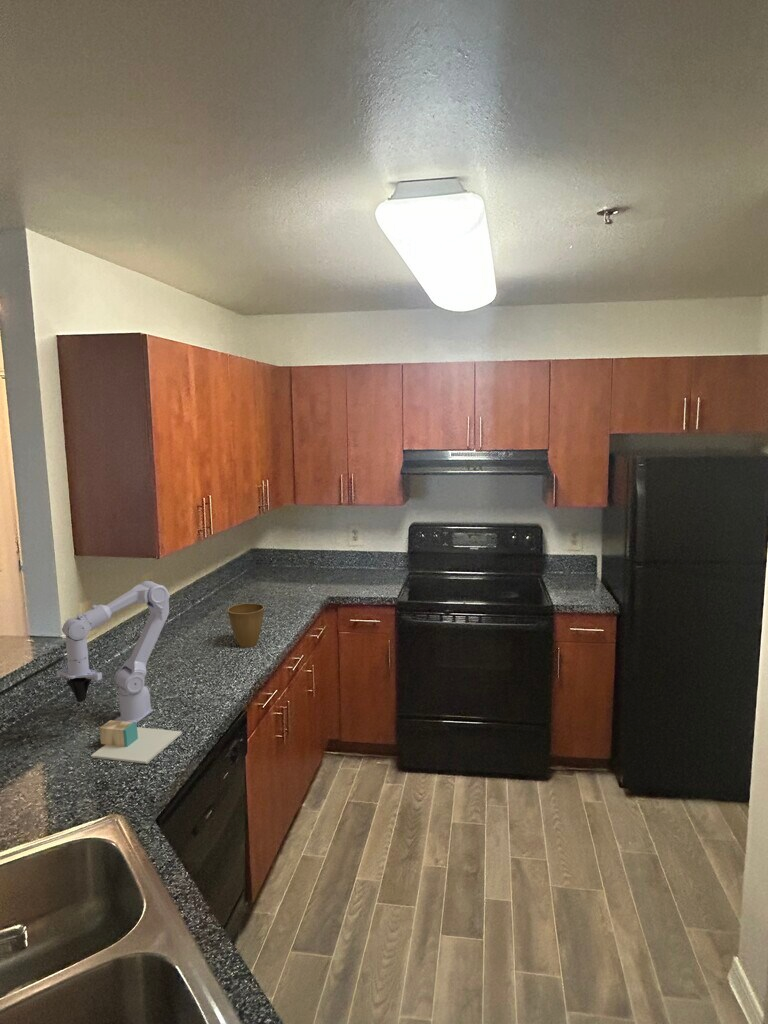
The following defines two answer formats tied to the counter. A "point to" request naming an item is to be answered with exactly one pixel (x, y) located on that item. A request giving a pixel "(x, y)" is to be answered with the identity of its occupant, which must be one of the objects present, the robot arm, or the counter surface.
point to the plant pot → (246, 623)
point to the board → (139, 746)
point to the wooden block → (118, 733)
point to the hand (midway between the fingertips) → (81, 700)
